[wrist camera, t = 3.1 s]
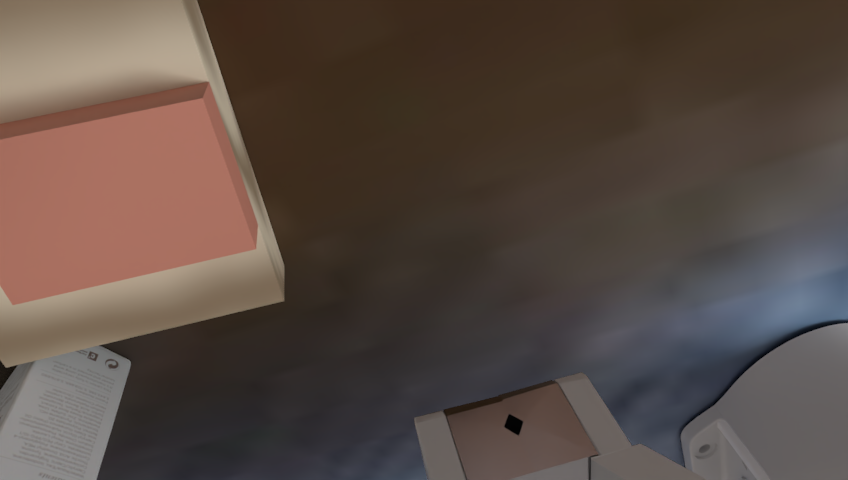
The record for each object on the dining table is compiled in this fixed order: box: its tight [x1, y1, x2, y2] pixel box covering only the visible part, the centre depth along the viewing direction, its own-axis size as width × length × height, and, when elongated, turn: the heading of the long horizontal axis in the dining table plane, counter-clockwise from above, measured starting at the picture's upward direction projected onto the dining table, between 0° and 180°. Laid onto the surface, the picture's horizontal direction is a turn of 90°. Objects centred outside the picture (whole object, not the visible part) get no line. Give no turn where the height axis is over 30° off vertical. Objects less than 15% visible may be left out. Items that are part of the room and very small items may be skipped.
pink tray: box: [0, 82, 258, 305], centre depth 22 cm, size 9×6×2 cm, turn 99°
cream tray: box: [0, 0, 284, 368], centre depth 24 cm, size 14×12×3 cm
